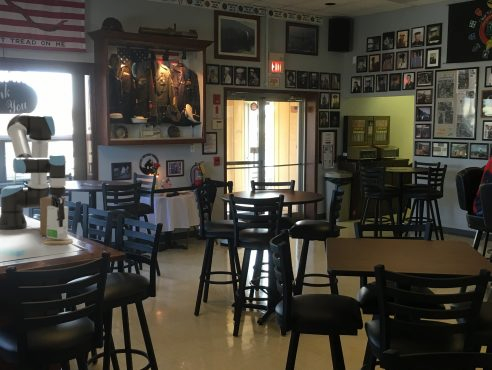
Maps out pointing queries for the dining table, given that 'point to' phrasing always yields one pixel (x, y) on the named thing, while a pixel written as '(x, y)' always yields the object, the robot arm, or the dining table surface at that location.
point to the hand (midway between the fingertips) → (57, 231)
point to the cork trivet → (57, 241)
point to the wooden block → (45, 214)
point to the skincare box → (52, 223)
